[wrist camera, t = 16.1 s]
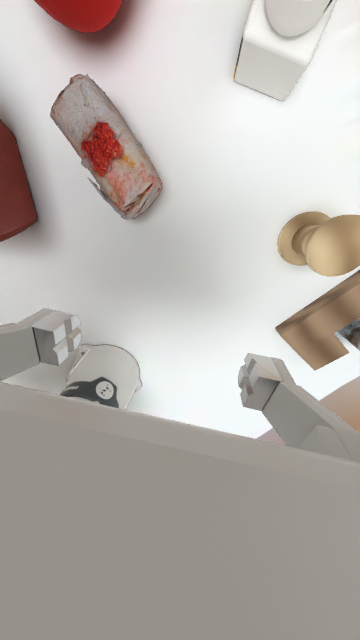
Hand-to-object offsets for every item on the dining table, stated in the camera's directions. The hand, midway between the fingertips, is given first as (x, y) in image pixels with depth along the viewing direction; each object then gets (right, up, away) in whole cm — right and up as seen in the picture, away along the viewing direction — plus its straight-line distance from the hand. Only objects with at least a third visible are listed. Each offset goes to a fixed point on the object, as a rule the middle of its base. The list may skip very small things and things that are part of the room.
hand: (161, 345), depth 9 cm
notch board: (+32, +2, +28) cm, 43 cm away
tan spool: (+21, +15, +23) cm, 34 cm away
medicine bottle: (+12, +34, +14) cm, 38 cm away
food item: (-8, +25, +21) cm, 34 cm away
